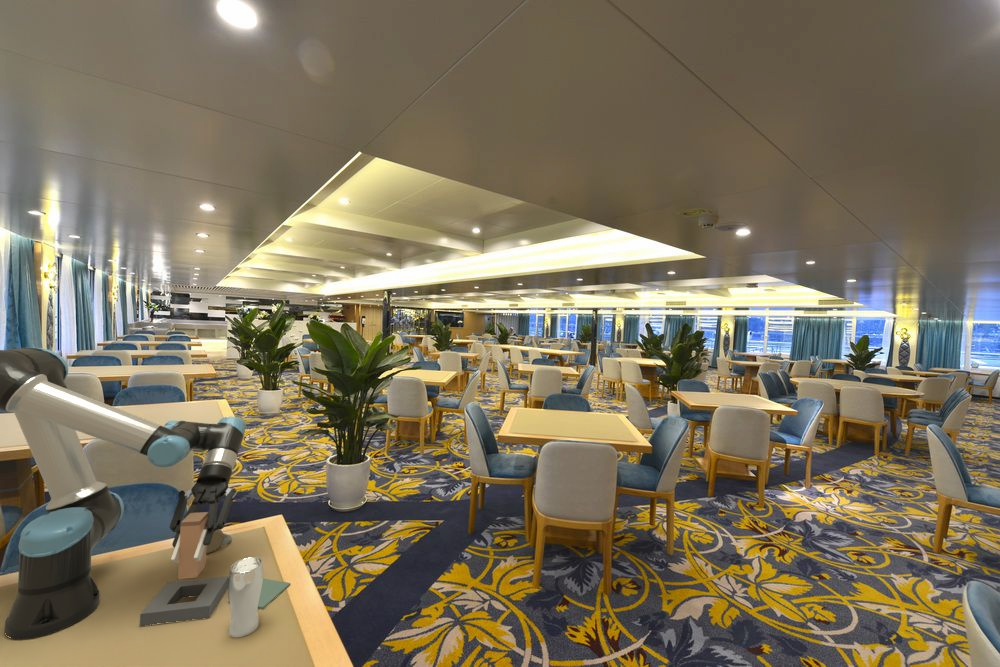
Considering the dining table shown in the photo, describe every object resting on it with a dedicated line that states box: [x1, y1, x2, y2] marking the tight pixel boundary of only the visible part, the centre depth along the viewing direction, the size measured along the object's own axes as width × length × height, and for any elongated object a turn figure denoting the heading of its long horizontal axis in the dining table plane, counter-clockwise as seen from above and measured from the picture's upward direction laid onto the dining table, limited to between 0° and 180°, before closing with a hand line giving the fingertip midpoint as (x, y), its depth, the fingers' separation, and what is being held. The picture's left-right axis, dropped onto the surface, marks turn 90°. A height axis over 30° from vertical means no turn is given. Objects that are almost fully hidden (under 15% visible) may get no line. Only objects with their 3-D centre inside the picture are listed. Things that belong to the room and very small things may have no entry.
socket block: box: [139, 575, 229, 627], centre depth 102 cm, size 14×12×3 cm
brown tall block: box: [177, 511, 209, 580], centre depth 102 cm, size 4×5×14 cm
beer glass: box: [227, 556, 264, 639], centre depth 95 cm, size 7×7×15 cm
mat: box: [228, 578, 291, 610], centre depth 107 cm, size 10×10×1 cm
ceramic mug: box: [206, 529, 233, 554], centre depth 128 cm, size 11×8×8 cm
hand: (185, 560), depth 98 cm, fingers closed on brown tall block, 4 cm apart
